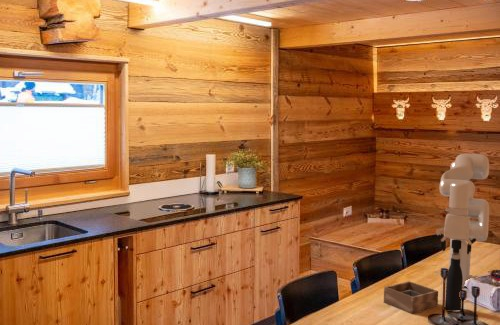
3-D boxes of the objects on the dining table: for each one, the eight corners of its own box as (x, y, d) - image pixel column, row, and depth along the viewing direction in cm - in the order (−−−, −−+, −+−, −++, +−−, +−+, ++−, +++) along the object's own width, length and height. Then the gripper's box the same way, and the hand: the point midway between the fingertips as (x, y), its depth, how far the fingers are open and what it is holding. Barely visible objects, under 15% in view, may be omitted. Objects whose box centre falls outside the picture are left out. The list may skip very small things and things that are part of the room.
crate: (408, 296, 262) (409, 281, 261) (437, 307, 249) (438, 291, 248) (383, 302, 253) (384, 287, 252) (412, 314, 240) (412, 297, 239)
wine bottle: (441, 308, 247) (445, 239, 244) (453, 306, 250) (457, 238, 246) (451, 313, 241) (455, 243, 238) (464, 311, 244) (468, 241, 240)
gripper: (435, 211, 241) (433, 251, 243) (479, 215, 234) (477, 256, 236) (438, 208, 248) (436, 247, 250) (481, 212, 240) (478, 252, 242)
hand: (456, 251), depth 243 cm, fingers open, 9 cm apart
